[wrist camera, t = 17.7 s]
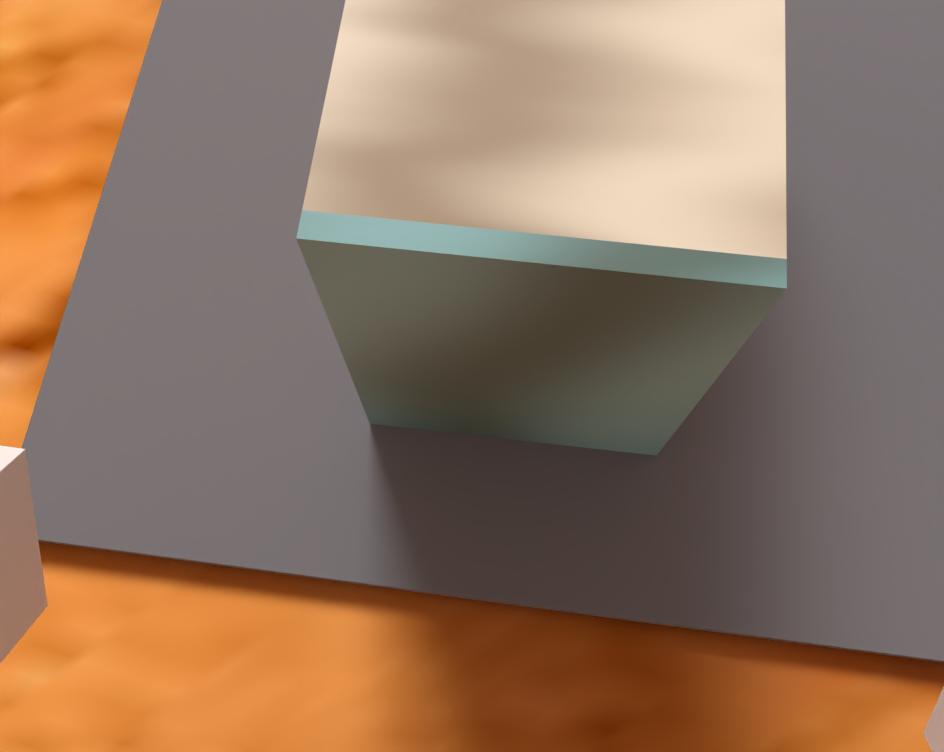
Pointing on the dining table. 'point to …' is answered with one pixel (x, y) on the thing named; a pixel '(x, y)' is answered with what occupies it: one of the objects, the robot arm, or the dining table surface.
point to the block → (548, 210)
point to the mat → (495, 459)
